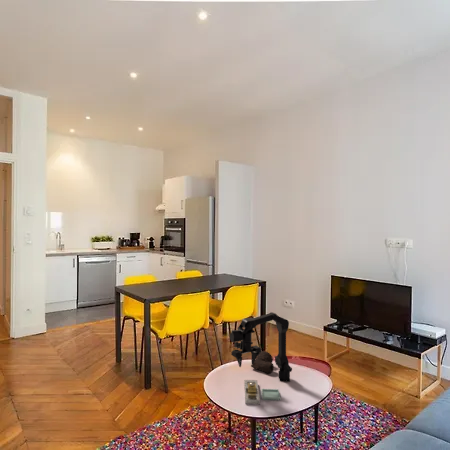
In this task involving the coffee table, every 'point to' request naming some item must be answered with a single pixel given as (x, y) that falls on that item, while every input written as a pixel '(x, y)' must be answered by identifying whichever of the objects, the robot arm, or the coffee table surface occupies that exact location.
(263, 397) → the parts tray
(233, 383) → the coffee table surface
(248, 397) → the grey slotted plate
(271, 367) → the brown rounded lump
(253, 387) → the brass block with knob
